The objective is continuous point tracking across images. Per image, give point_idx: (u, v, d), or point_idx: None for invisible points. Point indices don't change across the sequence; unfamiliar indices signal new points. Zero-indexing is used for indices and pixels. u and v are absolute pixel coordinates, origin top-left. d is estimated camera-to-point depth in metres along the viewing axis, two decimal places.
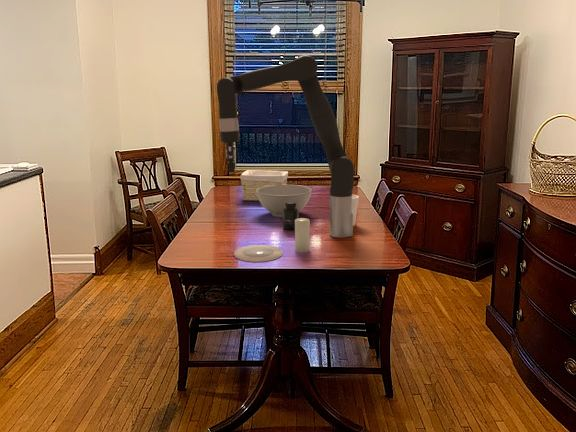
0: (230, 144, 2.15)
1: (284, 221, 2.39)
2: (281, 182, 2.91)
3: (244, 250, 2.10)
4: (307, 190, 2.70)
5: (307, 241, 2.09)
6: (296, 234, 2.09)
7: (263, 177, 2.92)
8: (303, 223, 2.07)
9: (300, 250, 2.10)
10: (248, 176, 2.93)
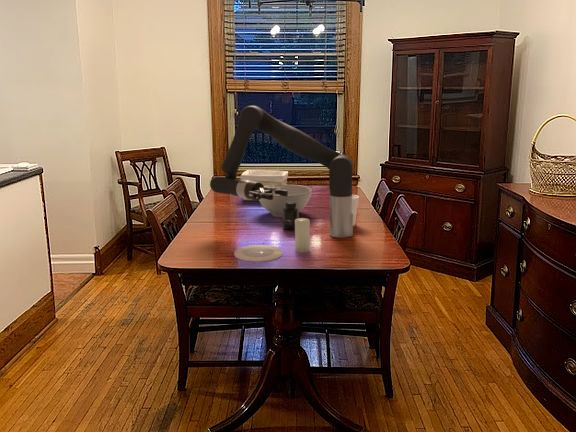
0: None
1: (284, 221, 2.39)
2: (281, 182, 2.91)
3: (244, 250, 2.10)
4: (307, 190, 2.70)
5: (307, 241, 2.09)
6: (296, 234, 2.09)
7: (263, 177, 2.92)
8: (303, 223, 2.07)
9: (300, 250, 2.10)
10: (248, 176, 2.93)
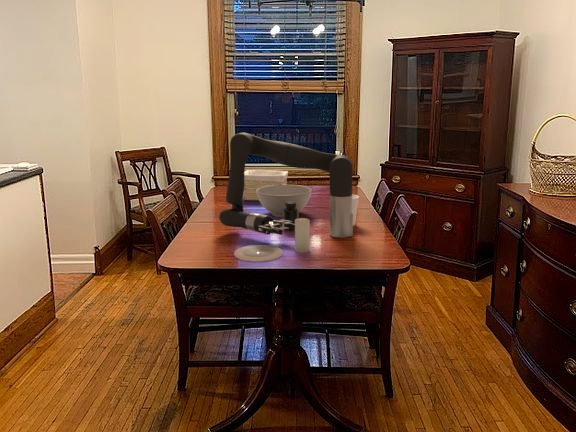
0: None
1: None
2: (282, 182, 2.92)
3: (244, 250, 2.10)
4: (307, 190, 2.70)
5: (307, 241, 2.09)
6: (296, 234, 2.09)
7: (264, 177, 2.92)
8: (303, 223, 2.07)
9: (300, 250, 2.10)
10: (249, 176, 2.93)
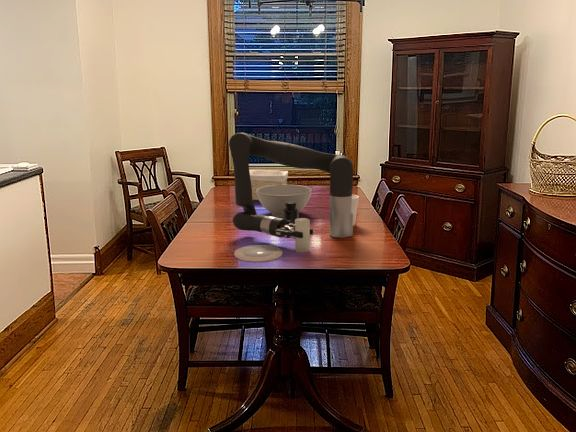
0: None
1: None
2: (282, 182, 2.92)
3: (244, 250, 2.10)
4: (307, 190, 2.70)
5: (307, 241, 2.09)
6: None
7: (264, 177, 2.92)
8: (303, 223, 2.07)
9: (300, 250, 2.10)
10: None
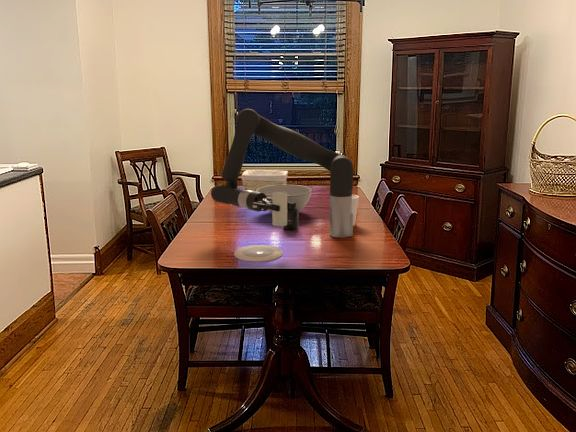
0: None
1: None
2: (283, 181, 2.93)
3: (244, 250, 2.10)
4: (307, 190, 2.70)
5: (284, 215, 2.05)
6: None
7: (265, 177, 2.93)
8: (280, 196, 2.02)
9: (277, 224, 2.05)
10: (249, 176, 2.93)
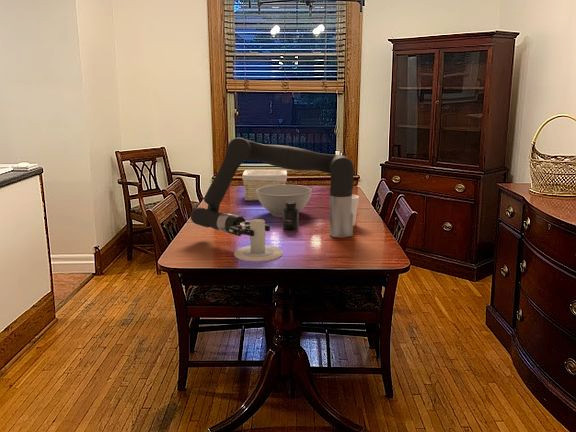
0: None
1: (284, 221, 2.39)
2: (284, 181, 2.94)
3: (244, 250, 2.10)
4: (307, 190, 2.70)
5: (262, 242, 2.05)
6: None
7: (266, 177, 2.93)
8: (257, 224, 2.03)
9: (255, 252, 2.05)
10: (251, 176, 2.93)
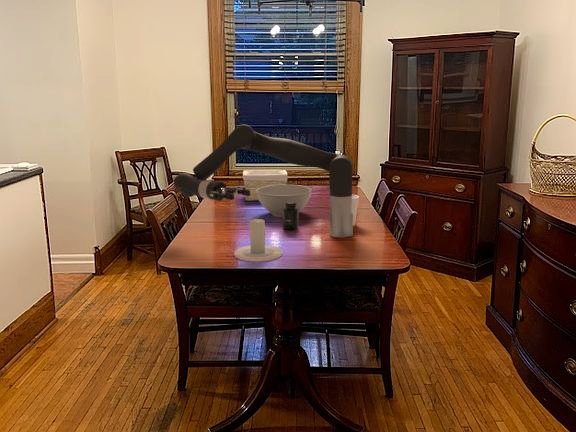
0: None
1: (284, 221, 2.39)
2: (285, 181, 2.95)
3: (244, 250, 2.10)
4: (307, 190, 2.70)
5: (262, 242, 2.05)
6: (251, 235, 2.05)
7: (267, 176, 2.93)
8: (257, 224, 2.03)
9: (255, 252, 2.05)
10: (252, 176, 2.93)
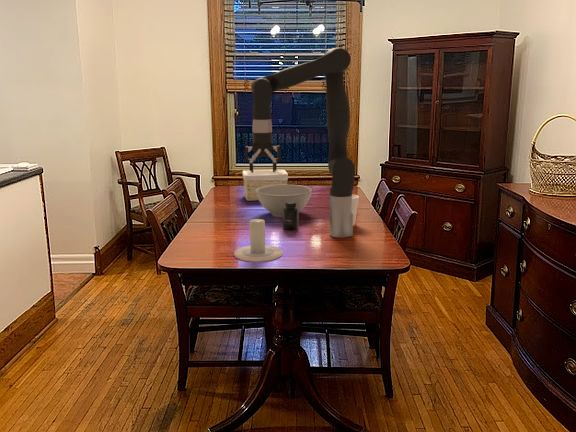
0: None
1: (284, 221, 2.39)
2: (286, 180, 2.96)
3: (244, 250, 2.10)
4: (307, 190, 2.70)
5: (262, 242, 2.05)
6: (251, 235, 2.05)
7: (268, 176, 2.94)
8: (257, 224, 2.03)
9: (255, 252, 2.05)
10: (253, 176, 2.92)
